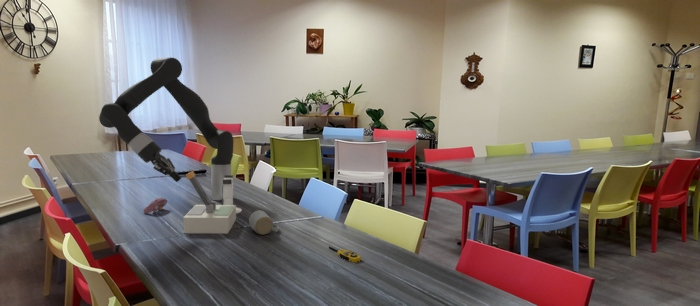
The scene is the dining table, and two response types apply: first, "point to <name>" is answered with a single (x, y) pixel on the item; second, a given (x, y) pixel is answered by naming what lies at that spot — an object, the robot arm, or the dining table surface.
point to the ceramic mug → (262, 223)
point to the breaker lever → (199, 188)
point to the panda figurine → (228, 192)
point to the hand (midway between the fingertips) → (179, 179)
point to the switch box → (210, 218)
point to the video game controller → (155, 205)
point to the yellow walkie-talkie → (347, 255)
